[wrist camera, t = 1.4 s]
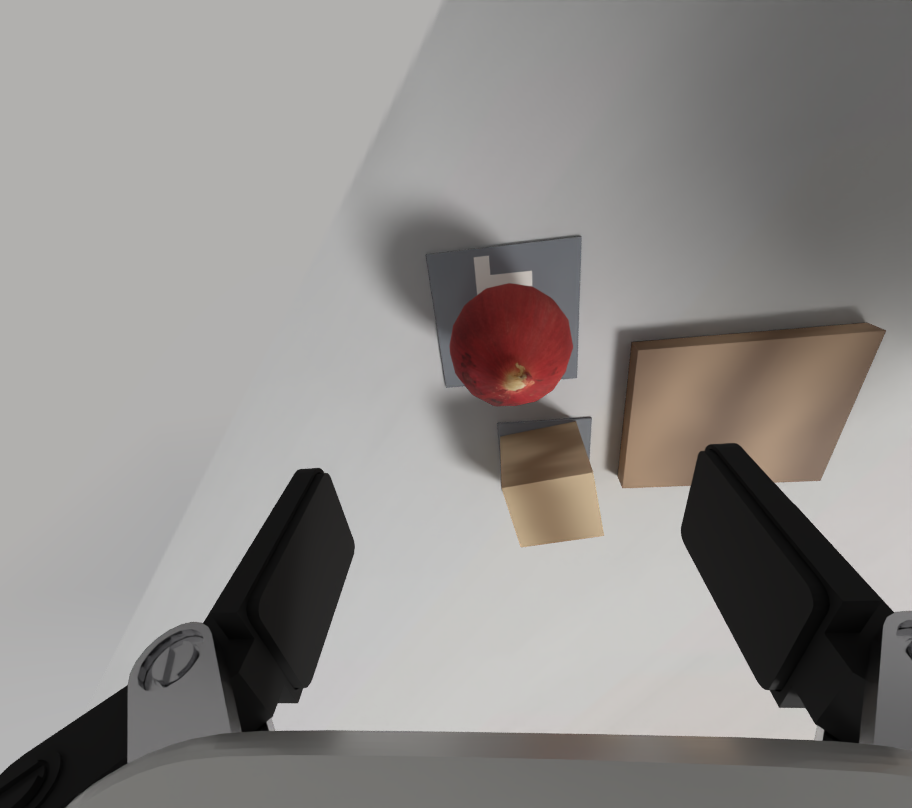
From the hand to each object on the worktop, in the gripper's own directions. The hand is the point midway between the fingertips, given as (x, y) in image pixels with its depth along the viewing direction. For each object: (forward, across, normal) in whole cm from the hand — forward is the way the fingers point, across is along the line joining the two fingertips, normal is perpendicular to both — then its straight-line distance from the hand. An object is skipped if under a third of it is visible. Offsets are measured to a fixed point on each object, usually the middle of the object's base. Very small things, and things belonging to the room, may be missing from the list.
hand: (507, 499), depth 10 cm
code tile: (+14, -1, 0) cm, 14 cm away
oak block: (+14, -3, +10) cm, 18 cm away
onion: (+14, -1, 0) cm, 14 cm away
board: (+14, -14, +7) cm, 21 cm away
